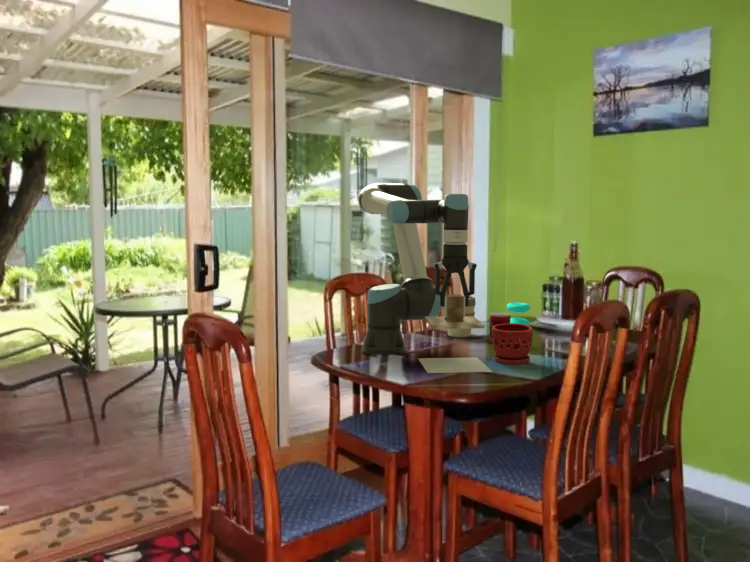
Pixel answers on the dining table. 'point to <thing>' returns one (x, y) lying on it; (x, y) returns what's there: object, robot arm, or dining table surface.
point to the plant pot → (512, 343)
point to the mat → (453, 365)
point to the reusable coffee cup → (468, 312)
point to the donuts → (518, 308)
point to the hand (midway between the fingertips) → (453, 316)
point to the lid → (454, 316)
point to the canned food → (497, 321)
